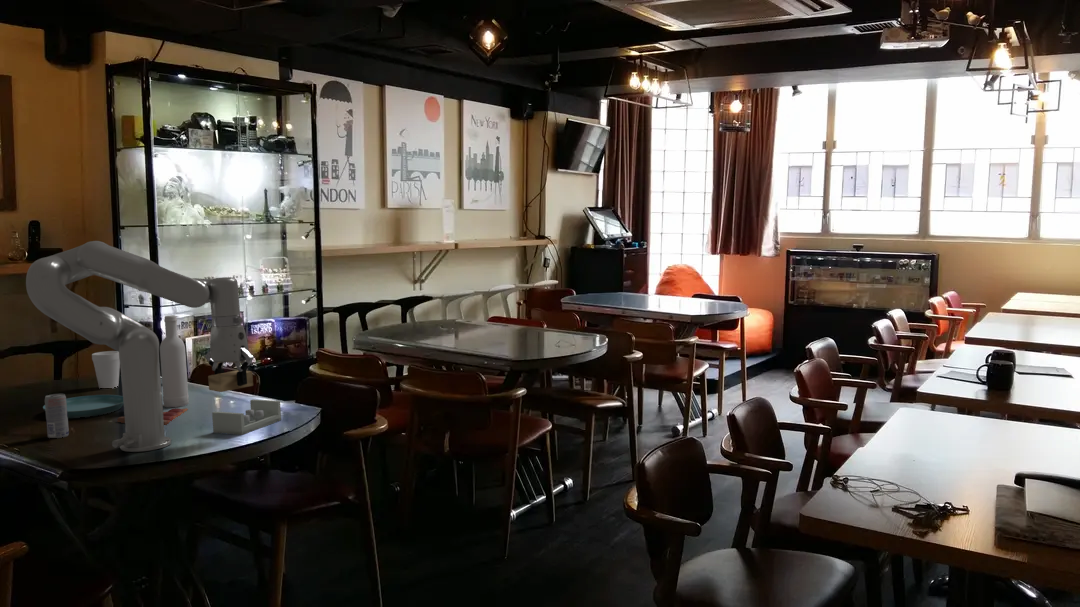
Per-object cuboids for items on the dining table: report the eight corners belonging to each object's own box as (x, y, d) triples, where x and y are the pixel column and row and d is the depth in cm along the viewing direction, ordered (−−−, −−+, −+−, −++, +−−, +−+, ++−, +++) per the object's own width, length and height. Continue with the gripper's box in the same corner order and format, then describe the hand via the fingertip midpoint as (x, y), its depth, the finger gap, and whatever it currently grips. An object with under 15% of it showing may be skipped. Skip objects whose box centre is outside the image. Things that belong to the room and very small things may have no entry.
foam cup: (99, 385, 323) (96, 351, 321) (125, 384, 324) (123, 350, 323) (91, 390, 313) (88, 355, 312) (118, 389, 315) (115, 354, 314)
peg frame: (242, 435, 242) (240, 414, 241) (213, 432, 245) (212, 412, 245) (281, 420, 259) (280, 400, 258) (253, 418, 262) (252, 399, 262)
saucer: (37, 424, 263) (36, 413, 262) (49, 408, 285) (49, 398, 285) (124, 415, 272) (123, 405, 271) (129, 401, 294) (129, 391, 294)
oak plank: (221, 392, 234) (219, 377, 233) (209, 389, 237) (208, 375, 237) (253, 385, 241) (252, 371, 241) (241, 383, 245) (240, 369, 245)
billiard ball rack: (115, 417, 261) (164, 403, 280) (116, 424, 261) (165, 410, 280) (163, 421, 255) (210, 407, 274) (163, 428, 255) (210, 413, 274)
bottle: (190, 401, 289) (185, 313, 286) (187, 406, 282) (181, 316, 279) (165, 403, 287) (159, 315, 284) (161, 408, 280) (155, 317, 277)
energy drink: (64, 433, 249) (61, 392, 248) (72, 435, 246) (68, 394, 244) (44, 437, 245) (41, 396, 244) (52, 439, 242) (48, 398, 240)
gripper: (260, 320, 238) (265, 383, 239) (211, 319, 244) (216, 380, 246) (241, 324, 231) (246, 388, 233) (192, 323, 237) (197, 385, 239)
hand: (231, 384), depth 239 cm, fingers closed on oak plank, 7 cm apart
